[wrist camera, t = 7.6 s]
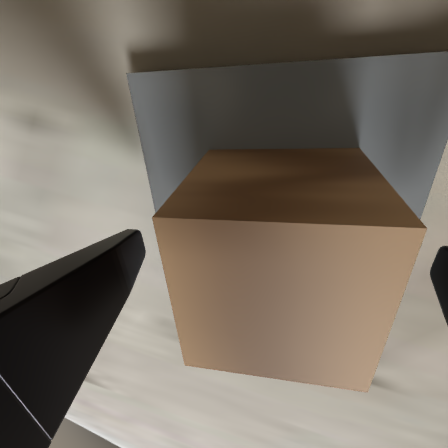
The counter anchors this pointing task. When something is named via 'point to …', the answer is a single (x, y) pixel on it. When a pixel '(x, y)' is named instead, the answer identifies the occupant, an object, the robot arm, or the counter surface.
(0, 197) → the counter surface
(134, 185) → the counter surface
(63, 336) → the robot arm
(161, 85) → the slate board
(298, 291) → the tan block
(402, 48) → the counter surface
